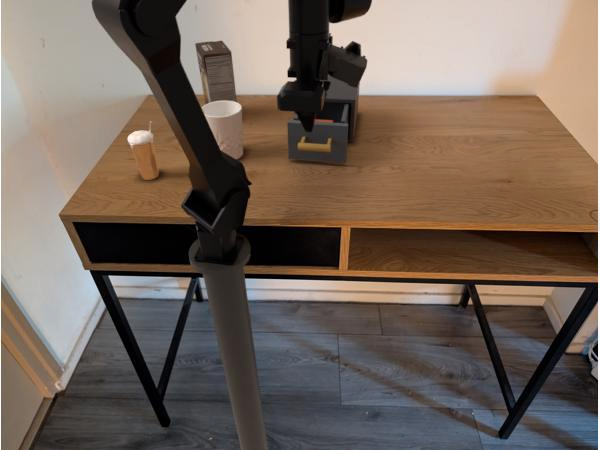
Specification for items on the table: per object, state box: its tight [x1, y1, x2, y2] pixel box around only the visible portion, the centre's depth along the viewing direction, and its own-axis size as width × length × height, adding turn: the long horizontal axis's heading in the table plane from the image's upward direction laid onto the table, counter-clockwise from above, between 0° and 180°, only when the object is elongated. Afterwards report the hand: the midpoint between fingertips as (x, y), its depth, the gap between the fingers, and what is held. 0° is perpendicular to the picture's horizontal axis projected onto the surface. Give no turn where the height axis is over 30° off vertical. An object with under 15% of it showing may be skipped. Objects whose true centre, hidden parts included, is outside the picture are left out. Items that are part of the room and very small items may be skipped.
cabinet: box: [293, 74, 361, 144], centre depth 96 cm, size 15×13×10 cm
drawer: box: [286, 102, 350, 164], centre depth 86 cm, size 18×11×8 cm, turn 170°
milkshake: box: [127, 121, 160, 181], centre depth 81 cm, size 5×5×10 cm
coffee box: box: [194, 40, 238, 105], centre depth 100 cm, size 9×6×16 cm
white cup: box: [201, 101, 244, 160], centre depth 87 cm, size 8×8×10 cm
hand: (309, 130), depth 71 cm, fingers closed
